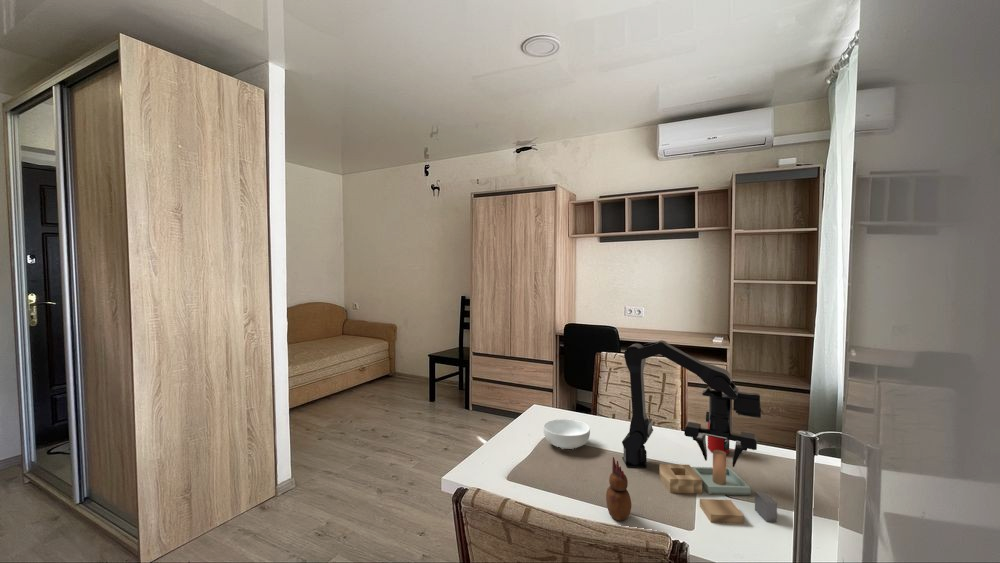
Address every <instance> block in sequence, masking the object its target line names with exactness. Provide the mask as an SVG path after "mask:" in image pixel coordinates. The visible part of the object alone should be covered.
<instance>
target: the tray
mask: <svg viewBox="0 0 1000 563" xmlns="http://www.w3.org/2000/svg"><path fill="white" fill-rule="evenodd" d="M691 467H692V469H693V470H694V471H695V472H696V473H697V474H698V476H699V477H700V478H701V479H702V489H703V490H704V491H705V492H706V493H707V494H708V495H719V496H720V495H723V496H724V495H727V496H751V493H752V492H751V489H752V488H751V487H750V486H749V485H748V484H747V483H746V482H745V480H744V479H742V478H741V477H740V475H738V473H736V472H735V471H734V470H733V469H732V468H731V467H726V484H725V485H718V484H716V483H714V482H713V466H711V467H709V466H708V467H707V466H691Z"/></svg>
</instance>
